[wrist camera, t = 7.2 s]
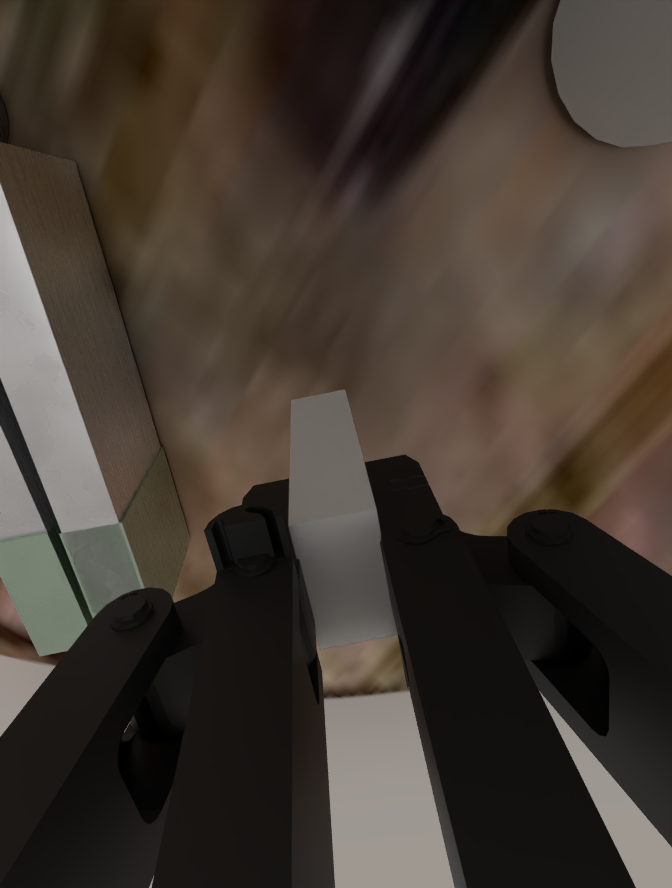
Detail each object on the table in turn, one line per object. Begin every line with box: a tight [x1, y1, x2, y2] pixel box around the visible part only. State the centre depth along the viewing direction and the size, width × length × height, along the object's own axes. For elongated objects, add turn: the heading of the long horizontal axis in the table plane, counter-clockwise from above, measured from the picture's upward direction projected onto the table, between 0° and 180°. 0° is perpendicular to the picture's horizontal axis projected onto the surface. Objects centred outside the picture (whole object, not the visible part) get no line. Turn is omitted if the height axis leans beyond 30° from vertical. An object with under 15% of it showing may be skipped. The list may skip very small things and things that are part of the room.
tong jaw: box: [0, 142, 190, 618], centre depth 22 cm, size 17×2×7 cm, turn 9°
